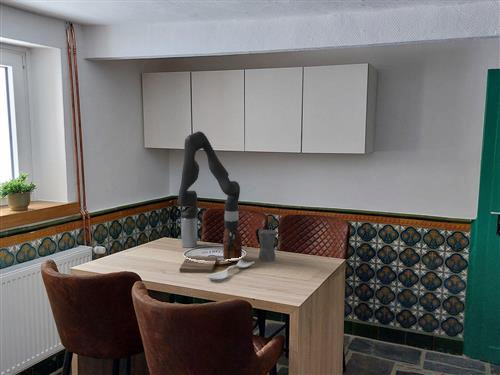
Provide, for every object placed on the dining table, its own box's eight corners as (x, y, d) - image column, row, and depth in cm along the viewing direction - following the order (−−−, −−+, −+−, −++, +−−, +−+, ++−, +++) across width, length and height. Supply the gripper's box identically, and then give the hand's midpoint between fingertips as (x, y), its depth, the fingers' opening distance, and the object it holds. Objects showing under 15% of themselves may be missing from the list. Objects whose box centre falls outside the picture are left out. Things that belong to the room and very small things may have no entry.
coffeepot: (282, 259, 260) (282, 226, 258) (269, 263, 254) (270, 229, 251) (261, 254, 271) (261, 222, 269) (249, 257, 265) (249, 225, 262)
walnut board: (187, 259, 261) (187, 256, 260) (217, 260, 260) (217, 256, 260) (179, 272, 239) (179, 268, 239) (211, 272, 238) (211, 268, 238)
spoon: (255, 267, 249) (255, 260, 248) (218, 284, 222) (218, 277, 221) (241, 264, 253) (240, 257, 253) (202, 281, 227) (202, 273, 226)
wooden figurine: (219, 260, 259) (219, 227, 257) (225, 257, 265) (224, 225, 263) (239, 263, 254) (238, 229, 252) (244, 260, 260) (244, 227, 257)
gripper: (225, 216, 264) (226, 245, 266) (223, 221, 250) (223, 252, 252) (239, 216, 263) (239, 245, 265) (237, 221, 249) (237, 252, 251)
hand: (231, 248), depth 259 cm, fingers open, 8 cm apart
